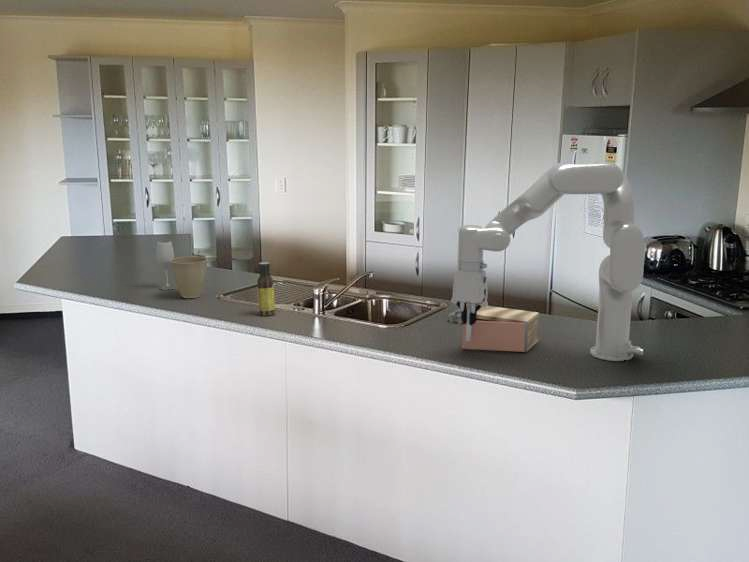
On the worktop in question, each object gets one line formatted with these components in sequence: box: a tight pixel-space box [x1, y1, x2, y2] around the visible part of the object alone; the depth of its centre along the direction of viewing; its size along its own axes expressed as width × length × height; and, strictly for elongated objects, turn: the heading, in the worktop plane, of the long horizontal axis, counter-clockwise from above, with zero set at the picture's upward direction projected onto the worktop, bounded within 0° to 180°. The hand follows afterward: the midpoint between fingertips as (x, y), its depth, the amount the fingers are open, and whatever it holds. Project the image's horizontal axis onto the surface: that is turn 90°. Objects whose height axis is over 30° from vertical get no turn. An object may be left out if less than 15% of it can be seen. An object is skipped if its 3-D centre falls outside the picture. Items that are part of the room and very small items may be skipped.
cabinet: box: [476, 305, 540, 352], centre depth 229 cm, size 20×12×10 cm, turn 60°
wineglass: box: [155, 240, 175, 286], centre depth 306 cm, size 8×8×21 cm
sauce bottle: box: [256, 261, 276, 317], centre depth 264 cm, size 6×6×20 cm
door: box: [461, 305, 528, 353], centre depth 219 cm, size 20×4×15 cm, turn 78°
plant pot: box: [170, 256, 208, 297], centre depth 291 cm, size 15×15×16 cm
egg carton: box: [447, 307, 463, 325], centre depth 256 cm, size 11×8×4 cm
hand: (468, 323), depth 218 cm, fingers closed on door
